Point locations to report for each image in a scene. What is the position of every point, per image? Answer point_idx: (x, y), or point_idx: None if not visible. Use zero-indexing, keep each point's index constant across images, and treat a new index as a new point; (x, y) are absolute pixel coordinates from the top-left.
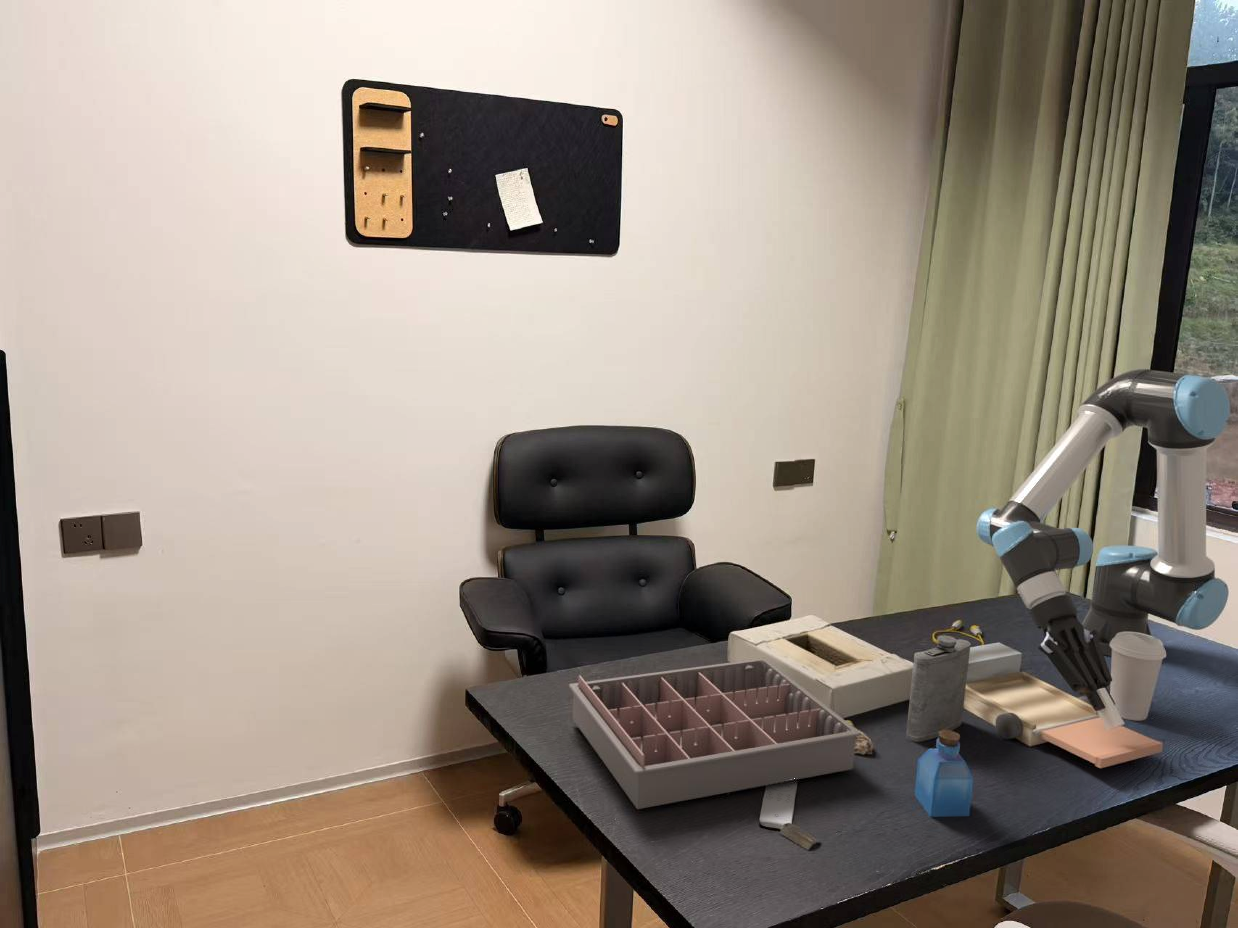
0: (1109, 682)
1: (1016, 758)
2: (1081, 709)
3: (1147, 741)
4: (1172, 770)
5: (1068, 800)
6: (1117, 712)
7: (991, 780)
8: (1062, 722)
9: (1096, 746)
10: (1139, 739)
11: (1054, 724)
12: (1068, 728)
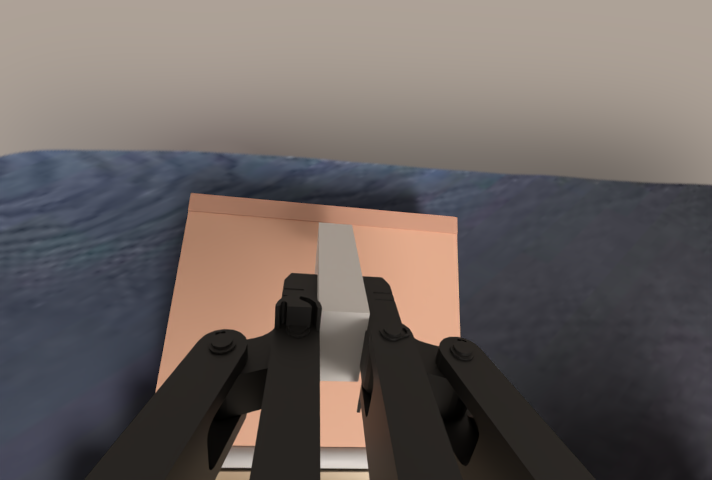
0: (281, 303)
1: (544, 415)
2: None
3: (218, 225)
4: (206, 191)
5: (553, 221)
6: (323, 243)
7: (668, 355)
8: (325, 478)
9: (394, 278)
10: (225, 246)
11: (367, 478)
12: (359, 420)
